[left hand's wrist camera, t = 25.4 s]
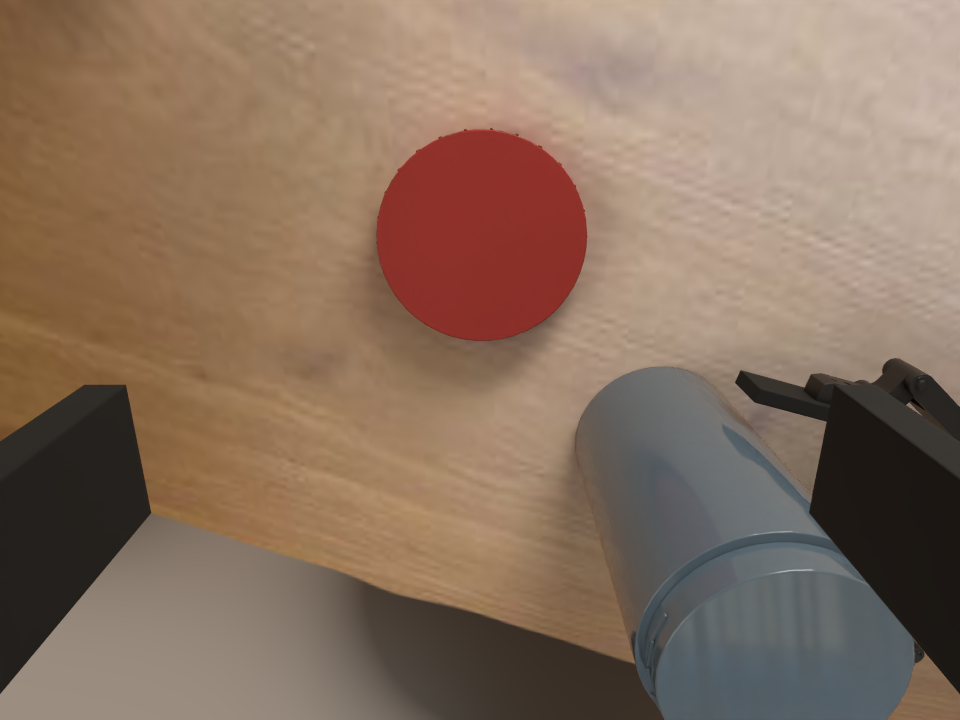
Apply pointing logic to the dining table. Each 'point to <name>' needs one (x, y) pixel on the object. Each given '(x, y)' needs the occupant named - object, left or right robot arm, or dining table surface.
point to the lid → (481, 235)
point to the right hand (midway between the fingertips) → (697, 494)
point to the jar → (728, 564)
